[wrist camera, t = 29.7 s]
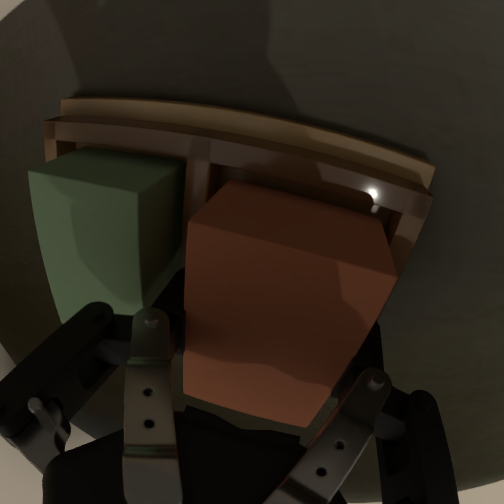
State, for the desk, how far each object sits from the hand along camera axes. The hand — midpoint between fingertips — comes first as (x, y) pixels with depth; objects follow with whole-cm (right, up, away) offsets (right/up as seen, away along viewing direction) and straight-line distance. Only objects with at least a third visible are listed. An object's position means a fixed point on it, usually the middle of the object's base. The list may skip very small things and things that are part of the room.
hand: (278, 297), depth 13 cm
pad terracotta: (0, 0, +1) cm, 1 cm away
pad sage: (-7, +3, +2) cm, 8 cm away
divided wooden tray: (-3, +2, +3) cm, 5 cm away
